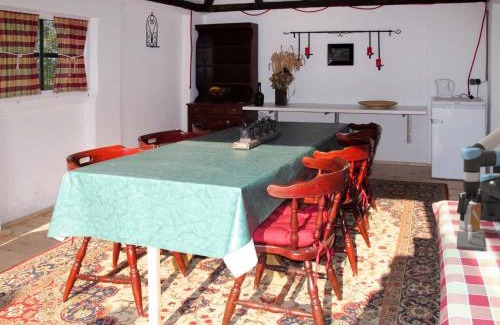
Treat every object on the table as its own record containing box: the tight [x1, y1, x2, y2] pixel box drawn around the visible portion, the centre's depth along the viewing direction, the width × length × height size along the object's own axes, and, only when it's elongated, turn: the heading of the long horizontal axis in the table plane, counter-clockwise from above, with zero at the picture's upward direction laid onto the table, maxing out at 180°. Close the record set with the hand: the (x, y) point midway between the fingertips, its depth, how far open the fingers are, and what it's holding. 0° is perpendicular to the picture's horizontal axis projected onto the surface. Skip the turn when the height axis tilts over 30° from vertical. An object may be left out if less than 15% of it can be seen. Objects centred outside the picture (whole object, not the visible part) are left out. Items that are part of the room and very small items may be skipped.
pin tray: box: [456, 225, 485, 252], centre depth 250 cm, size 22×11×6 cm, turn 159°
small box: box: [458, 200, 481, 232], centre depth 268 cm, size 8×6×13 cm
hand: (469, 225), depth 268 cm, fingers closed on small box, 8 cm apart
